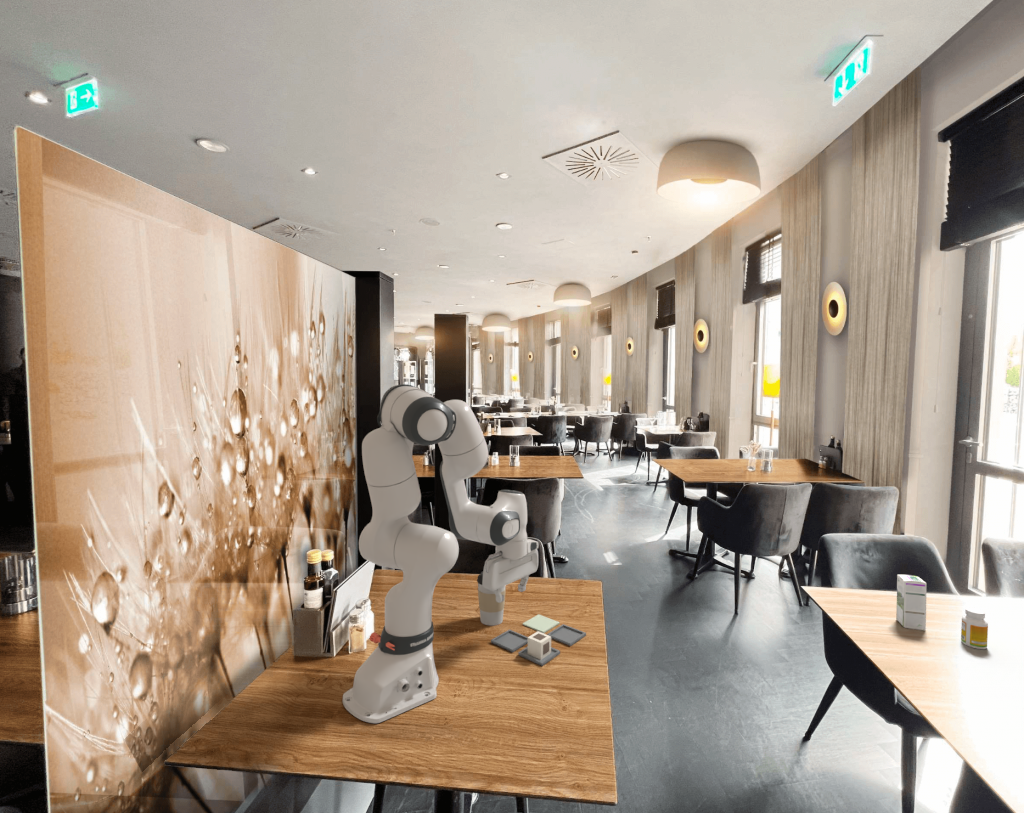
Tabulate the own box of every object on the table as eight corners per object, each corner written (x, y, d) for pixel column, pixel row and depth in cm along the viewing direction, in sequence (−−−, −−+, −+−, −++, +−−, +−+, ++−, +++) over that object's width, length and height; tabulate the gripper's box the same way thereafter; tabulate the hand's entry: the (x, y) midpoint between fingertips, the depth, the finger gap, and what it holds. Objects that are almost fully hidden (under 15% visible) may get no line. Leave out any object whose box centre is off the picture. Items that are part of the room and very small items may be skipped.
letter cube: (541, 660, 130) (541, 642, 130) (527, 653, 133) (527, 637, 133) (551, 653, 134) (551, 636, 133) (537, 647, 137) (537, 630, 136)
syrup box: (926, 631, 147) (928, 582, 147) (902, 627, 149) (904, 580, 149) (917, 622, 153) (919, 575, 152) (894, 619, 155) (896, 573, 154)
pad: (543, 633, 145) (543, 631, 145) (522, 624, 150) (522, 623, 150) (559, 623, 151) (559, 622, 151) (538, 615, 156) (538, 614, 156)
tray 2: (542, 666, 128) (542, 663, 128) (518, 655, 133) (518, 652, 133) (560, 653, 134) (560, 650, 134) (536, 643, 139) (536, 640, 139)
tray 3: (570, 646, 138) (570, 643, 138) (547, 636, 143) (547, 634, 143) (586, 635, 144) (586, 632, 144) (563, 626, 149) (563, 624, 149)
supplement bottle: (991, 648, 138) (993, 613, 137) (978, 651, 136) (980, 616, 136) (968, 638, 143) (970, 605, 143) (956, 641, 141) (957, 607, 141)
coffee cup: (493, 630, 147) (493, 580, 146) (470, 621, 152) (470, 573, 151) (512, 619, 154) (512, 571, 153) (489, 611, 159) (489, 564, 159)
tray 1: (512, 652, 134) (512, 649, 134) (490, 642, 140) (490, 639, 139) (530, 641, 140) (531, 638, 140) (509, 632, 146) (509, 629, 146)
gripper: (494, 559, 129) (494, 612, 129) (542, 541, 144) (541, 588, 145) (477, 554, 133) (477, 605, 134) (525, 536, 149) (525, 582, 149)
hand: (511, 596), depth 139 cm, fingers open, 8 cm apart
